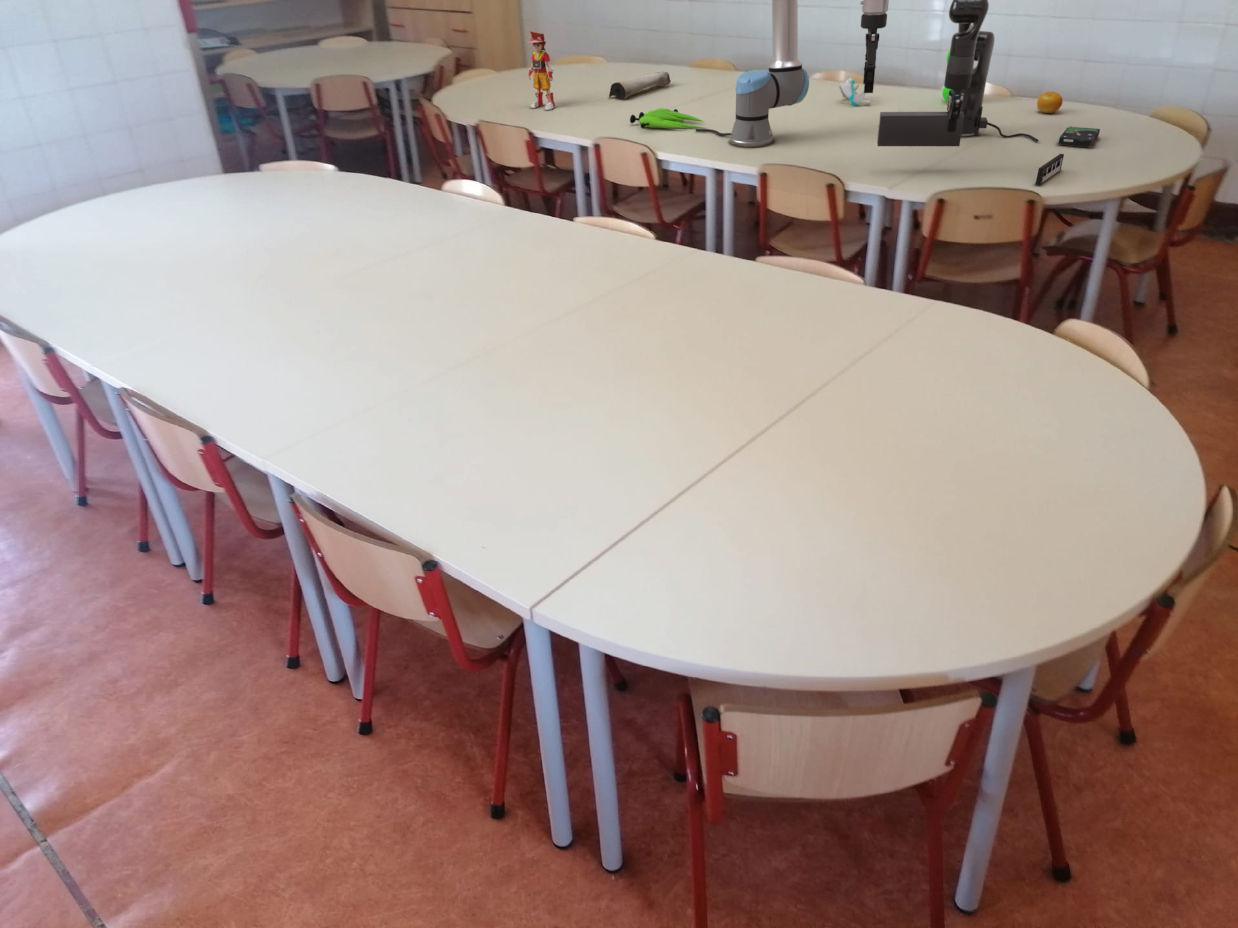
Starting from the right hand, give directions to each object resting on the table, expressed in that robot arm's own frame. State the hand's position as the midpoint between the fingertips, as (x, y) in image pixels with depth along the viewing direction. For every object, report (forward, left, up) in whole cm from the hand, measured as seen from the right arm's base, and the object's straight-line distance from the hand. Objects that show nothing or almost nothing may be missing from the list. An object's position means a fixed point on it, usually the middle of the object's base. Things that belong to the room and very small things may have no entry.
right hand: (950, 129), depth 278 cm
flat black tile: (-30, +6, -13) cm, 33 cm away
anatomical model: (+28, -90, -13) cm, 95 cm away
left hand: (+26, -5, +11) cm, 29 cm away
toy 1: (+157, -84, -13) cm, 178 cm away
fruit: (-43, -73, -13) cm, 86 cm away
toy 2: (+97, -55, -13) cm, 112 cm away
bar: (+9, 0, -5) cm, 10 cm away
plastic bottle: (-11, -90, -13) cm, 91 cm away
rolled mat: (+119, -111, -13) cm, 163 cm away
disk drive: (-46, -34, -13) cm, 59 cm away
